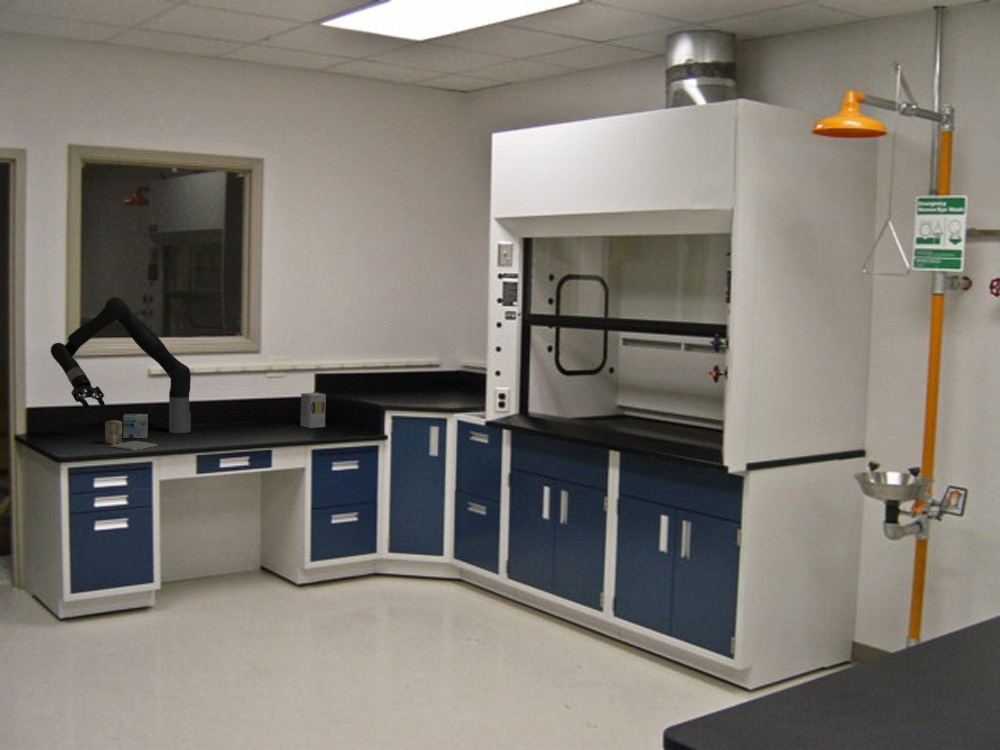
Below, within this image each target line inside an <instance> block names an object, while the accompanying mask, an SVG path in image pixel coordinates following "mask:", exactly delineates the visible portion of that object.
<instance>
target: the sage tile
mask: <svg viewBox="0 0 1000 750" xmlns="http://www.w3.org/2000/svg"><path fill="white" fill-rule="evenodd" d="M110 446H111V447H110ZM153 446H157V447H158V443H157V444H156V443H150V442H146V441H145V442H144V441H140V440H139V441H138V440H132V441H126V442H122V443H119V444H113V445H110V444H109V447H110V448H112V447H117V448H116V449H118V448H123V449H122V450H124V449H129V450H128V451H130V450H135V451H138V450H137V449H141V450H144V449H143V448H147V449H149V448H148V447H152V448H154V447H153Z"/></svg>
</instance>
